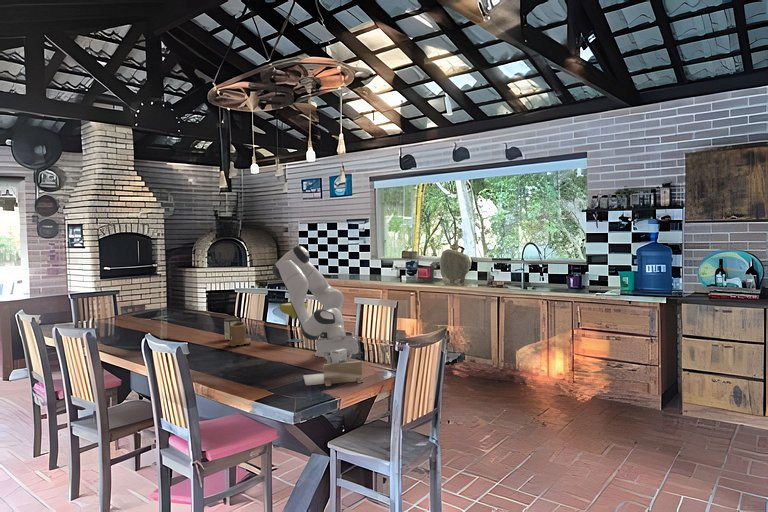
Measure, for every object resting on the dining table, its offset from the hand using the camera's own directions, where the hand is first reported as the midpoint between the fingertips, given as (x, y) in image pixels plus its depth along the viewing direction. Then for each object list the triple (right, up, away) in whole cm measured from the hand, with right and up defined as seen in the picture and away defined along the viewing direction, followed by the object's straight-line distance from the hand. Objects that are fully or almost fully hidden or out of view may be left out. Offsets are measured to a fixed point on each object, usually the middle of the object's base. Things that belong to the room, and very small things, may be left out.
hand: (339, 361), depth 250 cm
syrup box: (0, -9, 0) cm, 9 cm away
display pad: (-11, -9, 0) cm, 14 cm away
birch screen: (+3, -9, -6) cm, 11 cm away
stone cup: (-70, -6, +82) cm, 108 cm away
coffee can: (-81, -6, +101) cm, 130 cm away
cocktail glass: (-37, -5, +90) cm, 98 cm away
